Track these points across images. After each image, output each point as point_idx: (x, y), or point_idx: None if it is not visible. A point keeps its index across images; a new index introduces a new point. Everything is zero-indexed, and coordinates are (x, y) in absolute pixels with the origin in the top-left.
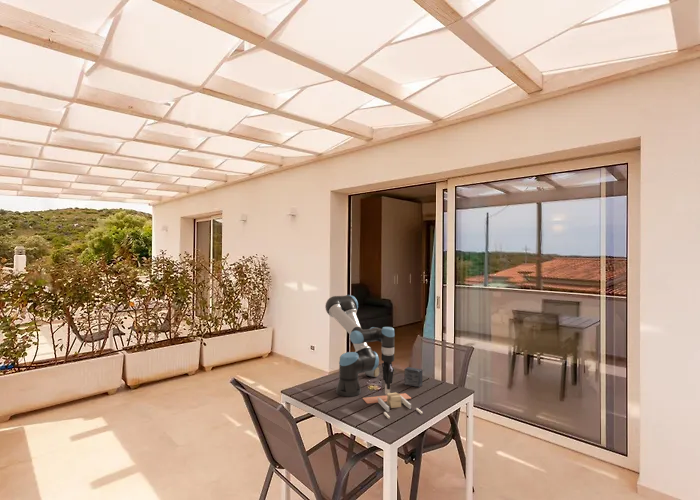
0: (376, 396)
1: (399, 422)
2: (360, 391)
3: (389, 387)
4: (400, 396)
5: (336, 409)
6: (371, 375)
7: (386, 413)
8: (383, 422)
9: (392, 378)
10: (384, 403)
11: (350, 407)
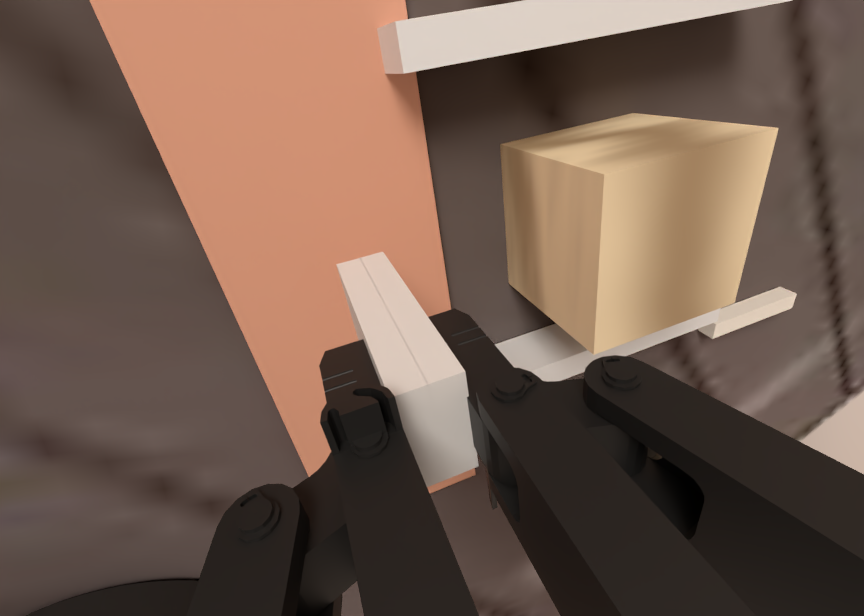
0: (282, 409)
1: (859, 219)
2: (145, 601)
3: (479, 337)
4: (771, 145)
5: (525, 608)
6: None
7: (743, 318)
8: (795, 336)
9: (838, 464)
10: (634, 344)
11: (515, 555)
